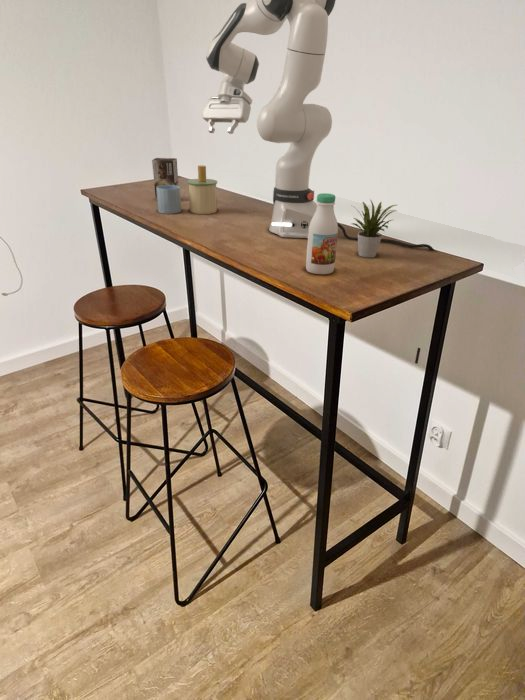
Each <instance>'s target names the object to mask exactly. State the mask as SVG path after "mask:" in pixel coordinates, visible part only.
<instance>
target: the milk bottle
mask: <svg viewBox="0 0 525 700" xmlns="http://www.w3.org/2000/svg"><path fill="white" fill-rule="evenodd" d="M335 202H336V195H335V194H333V193H326V192H325V193H318V194H317V196H316V204H317V209H316V212H315V214H314V216H313V218H312V220H311V222H310V226H309V233H308V238H307V245H306V257H305V258H306V260H305V270H306V271H307V272H308V273H310V274H315V275H330V274H332V273H333V272H334V271H335V266H336V265H335V264H336V255H337V245H338V236H339V235H338V233H339V227H338V224H337V223H338V220H337V217H336V214H335V209H334V206H335V205H336V203H335Z"/></svg>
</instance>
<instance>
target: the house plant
mask: <svg viewBox="0 0 525 700" xmlns="http://www.w3.org/2000/svg"><path fill="white" fill-rule="evenodd" d="M369 200H370V203H371V209H370V208H369V207H368V206H367V204H366V203H365V202H364V201H362V205H363V210H364V211H361V212H362V214H361V212H360V211H359V210H358V209H357V208H356V207H355V206H353V205H352V207H353V208H354V209H355V210H357V212H358V213H359V215H360V216H361V218H362V220H363V222H362V221H361V220H359V219H358V218H357V217H353V219H354V220H355V221H356V223H353V222H352V223H351V225H353V226H356V227H358V228H359V229H360V231H359V232H358V233H357V238H358V240H357V252H358V253H357V255H358V256H359V257H362V258H368V259H369V258H375V257H377V254H378V250H379V247H380V244H381V239H383V238H382V237H383V234H382V233H379V232H380V231H383V232H384V233H385V228H386V229H389V226H388V225H389V224H390V223H389V222H391V221H393V219H389V220H387V221H385V219H386V218H387V217H388V216H390V215H391V214H392V213H394V212H398V210H396V209H391V208H393V207H396V206H397V204H392V205H390V206H387V208H385V209H384V210H383V209H382V201H380V202H379V203H378V205H377V207H376V209H375V205H374V203H373V201H372V199H369ZM370 210H371V214H370ZM387 224H388V225H387Z"/></svg>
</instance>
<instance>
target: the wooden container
mask: <svg viewBox="0 0 525 700" xmlns="http://www.w3.org/2000/svg"><path fill="white" fill-rule="evenodd" d="M188 198H189V212H190V213H192V214H197V215H211V214H214V213H216V212H217V210H218V204H217V203H218V202H217V201H218V200H217V199H218V198H217V184H215V185H208V186H197V185H190V184H188Z"/></svg>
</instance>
